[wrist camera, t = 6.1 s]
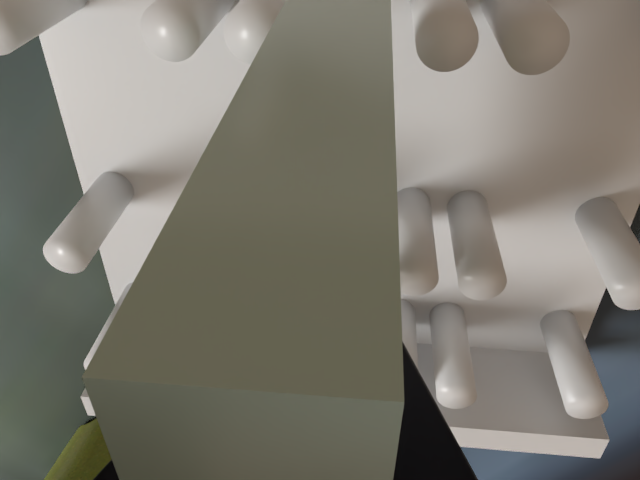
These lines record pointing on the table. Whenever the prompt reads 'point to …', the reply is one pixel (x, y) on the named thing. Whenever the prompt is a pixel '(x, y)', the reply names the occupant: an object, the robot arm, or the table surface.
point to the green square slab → (273, 277)
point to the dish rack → (412, 178)
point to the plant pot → (82, 455)
